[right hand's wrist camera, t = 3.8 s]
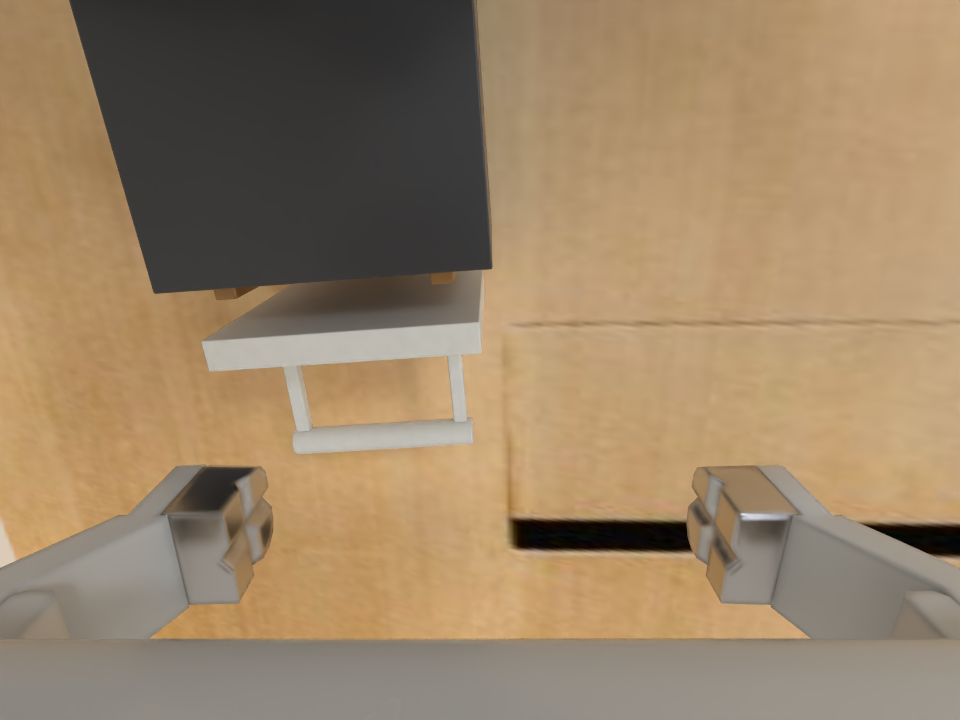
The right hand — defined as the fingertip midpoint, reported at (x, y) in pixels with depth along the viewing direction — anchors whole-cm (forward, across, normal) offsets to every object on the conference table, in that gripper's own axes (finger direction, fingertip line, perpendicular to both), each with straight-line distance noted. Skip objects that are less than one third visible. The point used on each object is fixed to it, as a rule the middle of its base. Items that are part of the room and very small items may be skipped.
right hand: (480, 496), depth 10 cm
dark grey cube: (+20, +6, -9) cm, 23 cm away
